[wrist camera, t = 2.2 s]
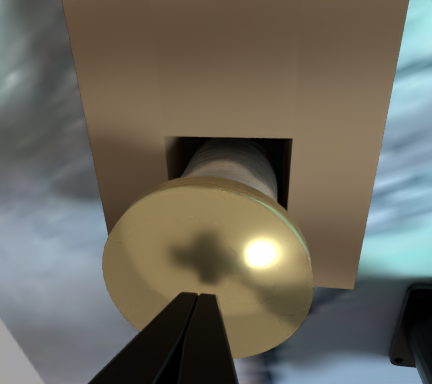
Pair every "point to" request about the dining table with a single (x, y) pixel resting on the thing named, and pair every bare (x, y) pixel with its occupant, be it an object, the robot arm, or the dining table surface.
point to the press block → (243, 101)
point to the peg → (215, 248)
